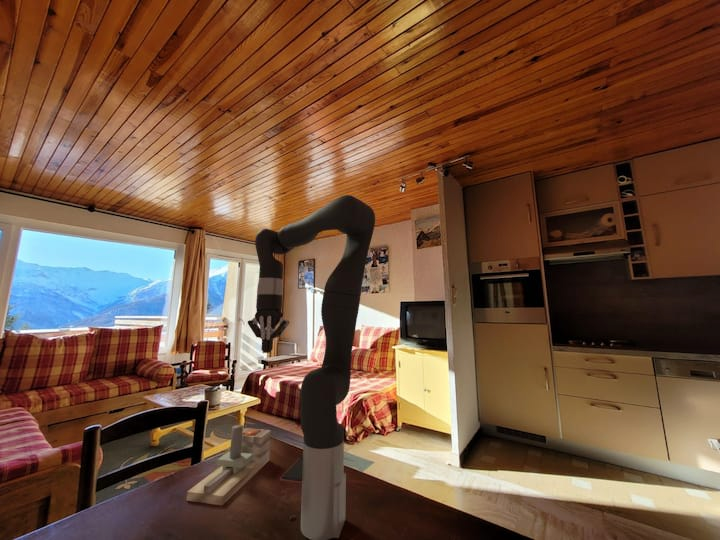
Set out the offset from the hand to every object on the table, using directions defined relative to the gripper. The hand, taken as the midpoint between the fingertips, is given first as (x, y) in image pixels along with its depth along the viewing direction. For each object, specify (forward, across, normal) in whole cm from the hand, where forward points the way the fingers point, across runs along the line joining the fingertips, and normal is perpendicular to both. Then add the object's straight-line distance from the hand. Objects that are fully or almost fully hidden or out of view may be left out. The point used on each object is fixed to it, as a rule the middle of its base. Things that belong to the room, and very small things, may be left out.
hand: (266, 352), depth 84 cm
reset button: (+29, +9, -10) cm, 32 cm away
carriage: (+33, +9, -2) cm, 34 cm away
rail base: (+35, +9, -1) cm, 36 cm away
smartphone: (+36, -8, -10) cm, 38 cm away
